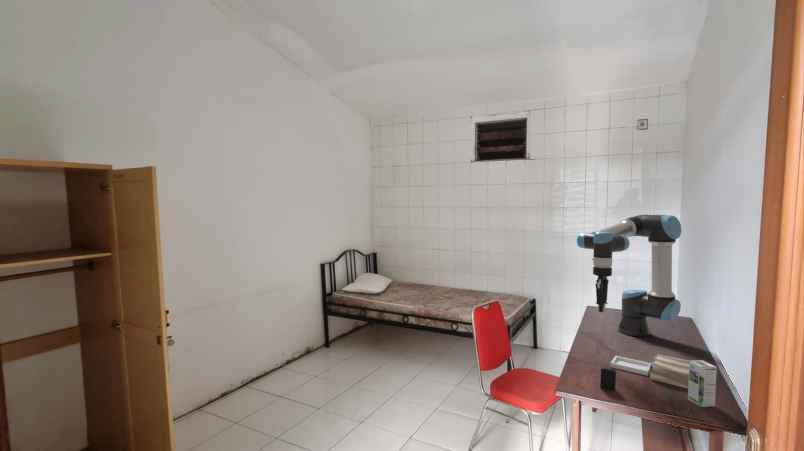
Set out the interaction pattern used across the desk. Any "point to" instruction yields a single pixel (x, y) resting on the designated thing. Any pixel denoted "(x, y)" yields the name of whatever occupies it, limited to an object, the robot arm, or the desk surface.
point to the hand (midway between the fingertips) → (601, 318)
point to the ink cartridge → (608, 378)
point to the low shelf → (670, 370)
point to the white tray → (631, 365)
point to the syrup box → (702, 383)
